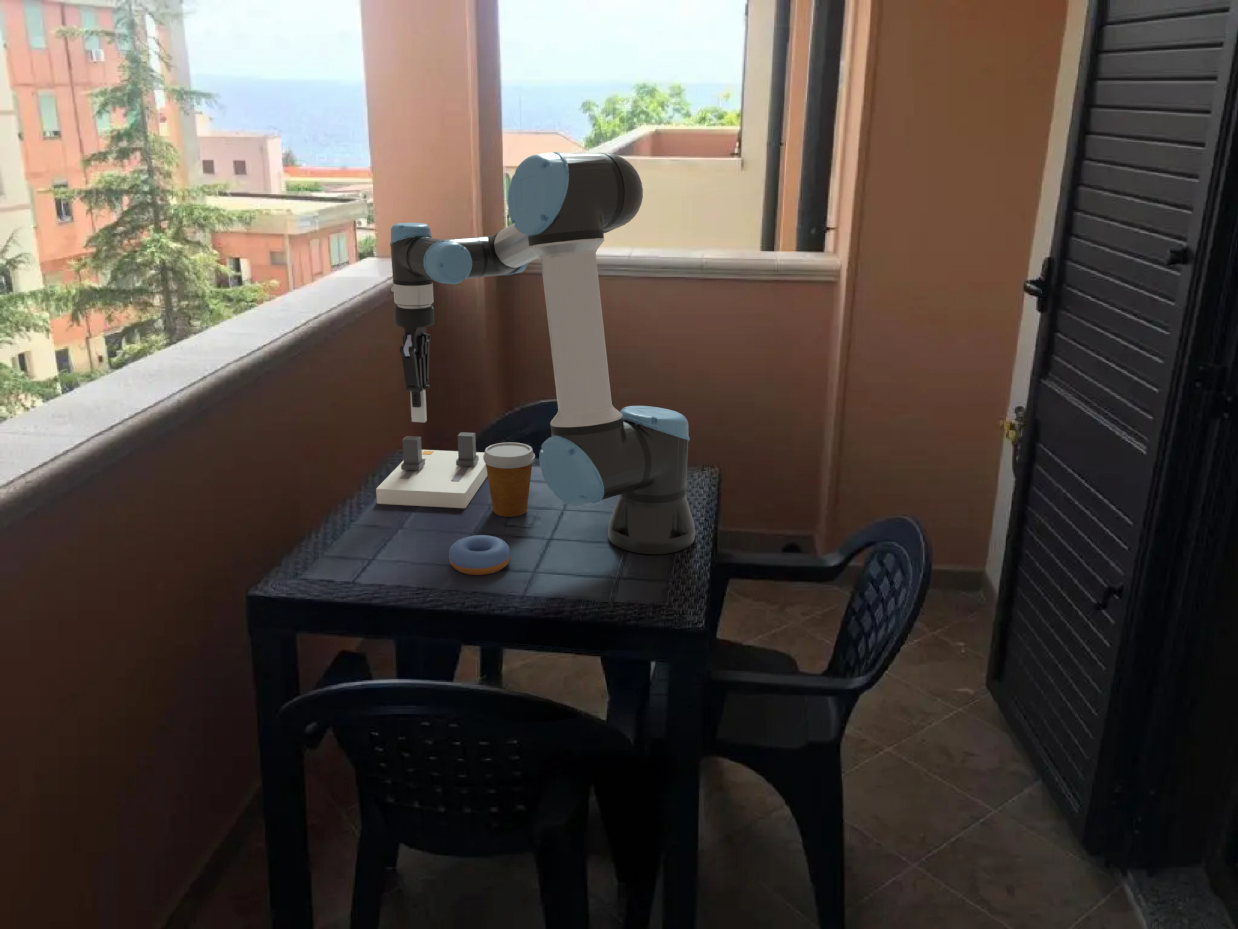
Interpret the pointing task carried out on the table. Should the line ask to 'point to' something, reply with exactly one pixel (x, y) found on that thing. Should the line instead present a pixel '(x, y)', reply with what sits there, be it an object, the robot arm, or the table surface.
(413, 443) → the block
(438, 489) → the panel
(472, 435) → the block
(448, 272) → the robot arm
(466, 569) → the doughnut
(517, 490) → the disposable coffee cup
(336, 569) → the table surface
